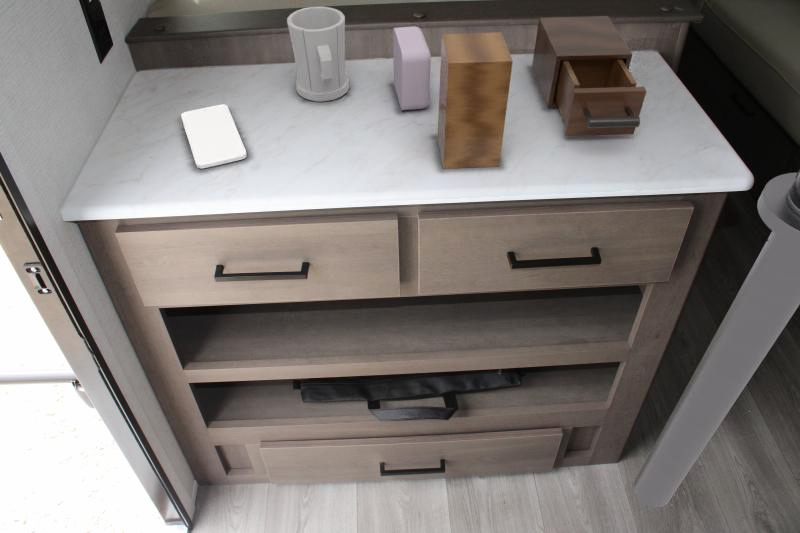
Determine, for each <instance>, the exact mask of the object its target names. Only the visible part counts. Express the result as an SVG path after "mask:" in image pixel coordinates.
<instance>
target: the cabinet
mask: <svg viewBox="0 0 800 533" xmlns="http://www.w3.org/2000/svg"><path fill="white" fill-rule="evenodd" d="M534 43H535V44H534V49H533V50H534V51H533V56H532V64H531V70H532V72H533V75H534V77H535V78H534V79H535V80H536V82H537V85H538V88H539V90H540V93H541V95H542V98H543V100H544V101H543V102H544V103H545V105H546V109H549V110H550V109H559V108H558V105H557V103H556V100H555V98H554V94H555V88H556V83H557V78H558V72H559V67H560V61H561V60H585V59H622V60H623V62H624V63H625V65H626V67H627V68H628V70H629V69H630V65H631V62H632V58H633V52H632V50H631V49H630V48H629V46H628V45H627V43H626V42H625V40H624V38H623V37H622V35H621V34H620V32H619V30H618V29H617V27H616V26H615V24H614V22H613V21H612V20H611V18H610V17H609V16H608V15H598V16H595V15H593V16H555V17H552V16H551V17H539V18H538V25H537V29H536V37H535V42H534Z"/></svg>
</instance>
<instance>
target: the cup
mask: <svg viewBox="0 0 800 533" xmlns="http://www.w3.org/2000/svg"><path fill="white" fill-rule="evenodd" d="M345 18H346V17H345V14H344V13H343V12H342V11H341V10H339V9H336V8H334V7H329V6H309V7H308V6H307V7H303V8H301V9H297V10H295V11H293V12H292V13H290V14H289V16H288V17H287V18H286V24H287V28H288V32H289V38H290V41H291V46H292V52H293V57H294V63H295V70H296V77H297V78H296V80H295V89H296V92H297V94H298V95H299V96H301V97H302V98H304V99H306V100H307V101H312V102H317V103H318V102H319V103H323V102H331V101H335V100H337V99H339V98H342V97H343V96H344V95H346V93H348V91H349V89H350V78H349V76H348V75H347V73H346V72H347V71H346V45H345V44H346V43H345V42H346V40H345V39H346V37H345V36H346V19H345Z"/></svg>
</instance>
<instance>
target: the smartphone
mask: <svg viewBox="0 0 800 533" xmlns="http://www.w3.org/2000/svg"><path fill="white" fill-rule="evenodd" d="M180 117H181V121H182V124H183V128H184V131H185V132H184V133H185V135H186V137H187V141H188V143H189V146H190V149H191V153H192V156H193V159H194V163H195V166H196V168H198V169H207V168H212V167H216V166H220V165H224V164H228V163H234V162H238V161H241V160H244V159H246V158H247V156H248V155H247V150H246V148H245V145H244V143H243V140H242V138H241V136H240V133H239V131H238V128H237V125H236V123H235V120H234V117H233V116H232V114H231V111H230V108H229V106H228V104H224V103H223V104H222V103H221V104H216V105H212V106H206V107H201V108H197V109H192V110H187V111H184V112H182V113H181V114H180Z"/></svg>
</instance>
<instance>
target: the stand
mask: <svg viewBox="0 0 800 533" xmlns="http://www.w3.org/2000/svg"><path fill="white" fill-rule="evenodd" d="M513 62H514V61H513V57H512V55H511V53H510V50H509V47H508V45H507V42H506V40H505V37H504V35H503V32H501V31H499V32H469V33H468V32H467V33H464V32H463V33H442V34H441V46H440V67H439V68H440V70H439V92H438V93H439V94H438V116H437V117H438V118H437V142H438V147H439V152H440V157H441V158H440V159H441V164H442V169H467V168H469V169H470V168H492V167H493V168H495V167H500V164H501V155H502V149H503V148H502V146H503V141H504V140H503V139H504V133H505V126H506V125H505V124H506V117H507V110H508V103H509V102H508V101H509V94H510V92H509V91H510V87H511V86H510V85H511V77H512V69H513Z"/></svg>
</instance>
